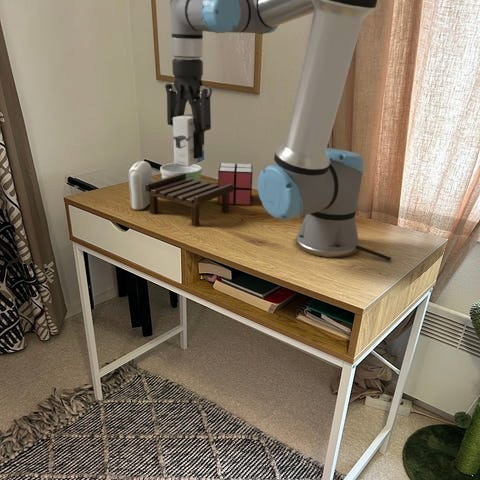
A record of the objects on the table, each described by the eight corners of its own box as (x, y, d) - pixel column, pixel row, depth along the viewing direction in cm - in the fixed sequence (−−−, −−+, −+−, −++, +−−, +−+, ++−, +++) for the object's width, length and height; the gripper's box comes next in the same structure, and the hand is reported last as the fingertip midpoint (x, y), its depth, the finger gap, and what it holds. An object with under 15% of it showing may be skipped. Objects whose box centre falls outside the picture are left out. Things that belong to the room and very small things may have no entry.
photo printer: (141, 199, 148) (138, 157, 142) (155, 200, 148) (152, 158, 141) (129, 209, 139) (125, 166, 133) (143, 211, 139) (140, 167, 132)
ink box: (189, 157, 136) (189, 112, 130) (205, 160, 134) (205, 114, 128) (173, 164, 129) (171, 116, 123) (189, 166, 128) (188, 119, 122)
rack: (232, 212, 141) (233, 184, 136) (197, 227, 129) (197, 197, 125) (183, 199, 149) (183, 172, 145) (147, 212, 138) (145, 183, 134)
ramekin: (174, 181, 166) (173, 160, 162) (208, 186, 162) (208, 165, 158) (153, 191, 156) (152, 169, 152) (189, 197, 151) (189, 174, 148)
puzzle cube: (250, 205, 146) (252, 172, 141) (217, 204, 146) (218, 170, 141) (250, 195, 155) (252, 163, 150) (219, 194, 155) (220, 162, 150)
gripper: (226, 60, 117) (224, 158, 129) (169, 55, 126) (172, 148, 138) (207, 61, 112) (207, 164, 124) (149, 56, 121) (154, 152, 133)
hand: (189, 155), depth 131 cm, fingers closed on ink box, 5 cm apart
